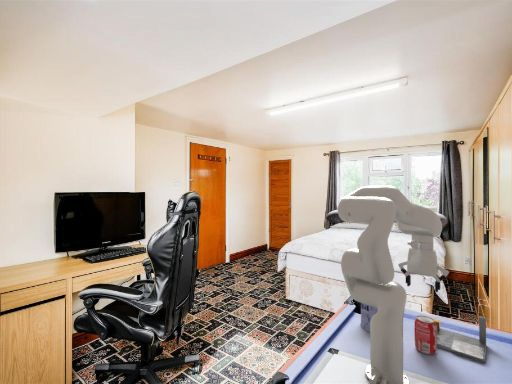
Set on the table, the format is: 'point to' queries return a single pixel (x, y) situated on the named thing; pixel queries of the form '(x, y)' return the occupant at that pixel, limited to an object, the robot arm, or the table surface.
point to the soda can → (425, 334)
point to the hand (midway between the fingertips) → (422, 288)
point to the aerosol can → (367, 315)
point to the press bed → (464, 342)
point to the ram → (437, 325)
